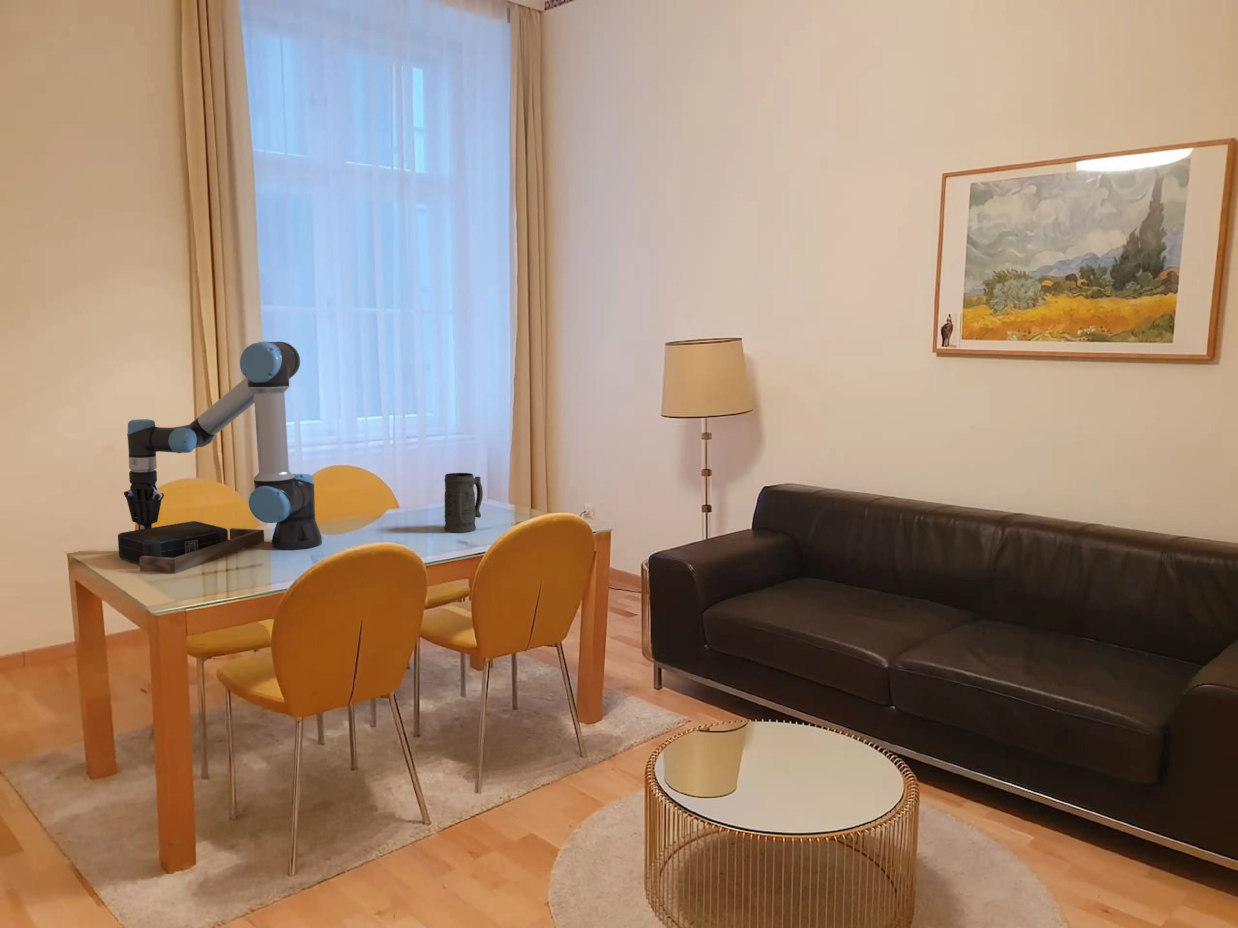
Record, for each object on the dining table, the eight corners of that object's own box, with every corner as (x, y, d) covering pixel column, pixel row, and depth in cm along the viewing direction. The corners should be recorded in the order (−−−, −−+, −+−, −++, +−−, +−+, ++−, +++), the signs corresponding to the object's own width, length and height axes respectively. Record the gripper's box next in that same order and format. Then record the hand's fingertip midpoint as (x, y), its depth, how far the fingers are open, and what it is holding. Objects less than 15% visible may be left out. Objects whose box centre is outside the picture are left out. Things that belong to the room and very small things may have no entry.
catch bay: (264, 541, 297) (263, 529, 297) (175, 573, 258) (174, 559, 257) (233, 539, 300) (232, 527, 299) (140, 570, 260) (139, 557, 260)
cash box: (151, 569, 262) (149, 542, 261) (116, 558, 274) (115, 533, 273) (232, 553, 282) (230, 528, 281) (196, 543, 294) (195, 520, 293)
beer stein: (460, 534, 310) (461, 476, 308) (436, 530, 315) (438, 473, 314) (489, 529, 323) (491, 473, 321) (466, 526, 328) (467, 470, 327)
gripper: (115, 470, 278) (119, 545, 281) (151, 473, 275) (154, 549, 278) (134, 467, 285) (137, 540, 288) (169, 469, 282) (171, 544, 286)
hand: (145, 545), depth 283 cm, fingers closed
